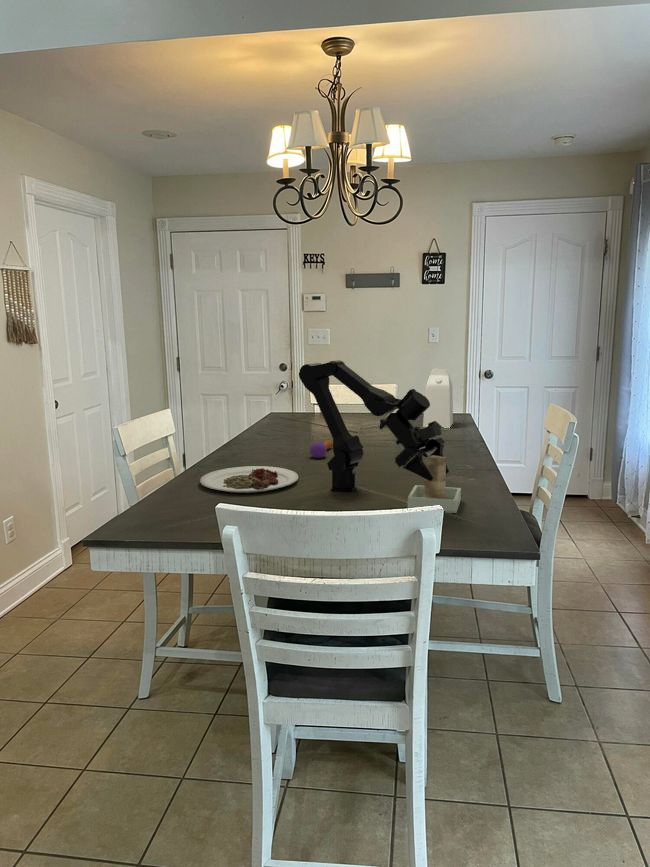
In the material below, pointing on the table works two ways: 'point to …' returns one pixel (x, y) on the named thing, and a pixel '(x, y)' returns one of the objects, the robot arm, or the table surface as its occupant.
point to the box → (435, 499)
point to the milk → (439, 399)
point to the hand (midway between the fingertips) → (440, 476)
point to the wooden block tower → (436, 477)
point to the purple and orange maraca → (320, 448)
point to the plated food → (249, 479)
